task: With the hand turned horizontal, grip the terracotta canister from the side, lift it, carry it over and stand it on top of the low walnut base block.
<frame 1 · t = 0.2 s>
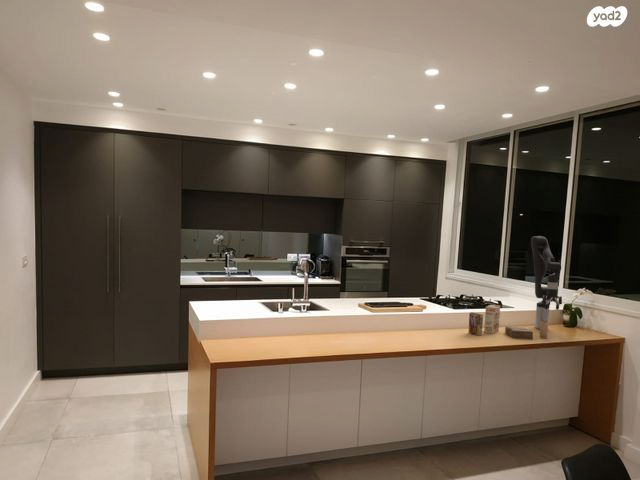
hand: (551, 309, 343), 18 cm above the worktop, tool pointing down, fingers open, 8 cm apart
terracotta canister: (543, 337, 326), on the worktop
coffeecake box: (491, 332, 336), on the worktop
walnut base: (518, 336, 326), on the worktop
candy box: (475, 334, 326), on the worktop
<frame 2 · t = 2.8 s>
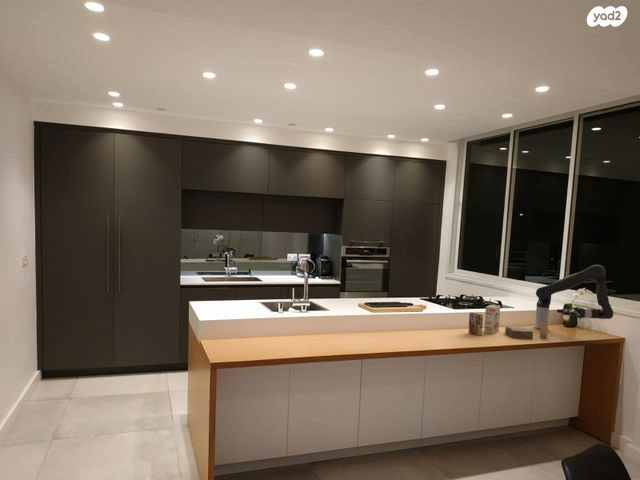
hand: (560, 312, 325), 19 cm above the worktop, tool horizontal, fingers open, 8 cm apart
nothing on the worktop moved.
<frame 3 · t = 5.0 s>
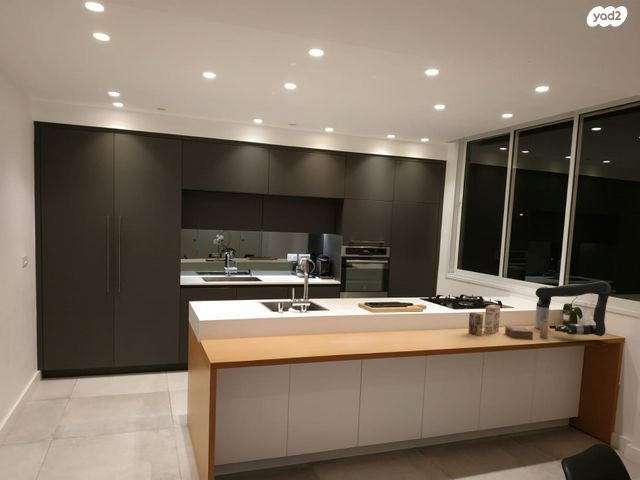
hand: (552, 328, 326), 7 cm above the worktop, tool horizontal, fingers open, 8 cm apart
nothing on the worktop moved.
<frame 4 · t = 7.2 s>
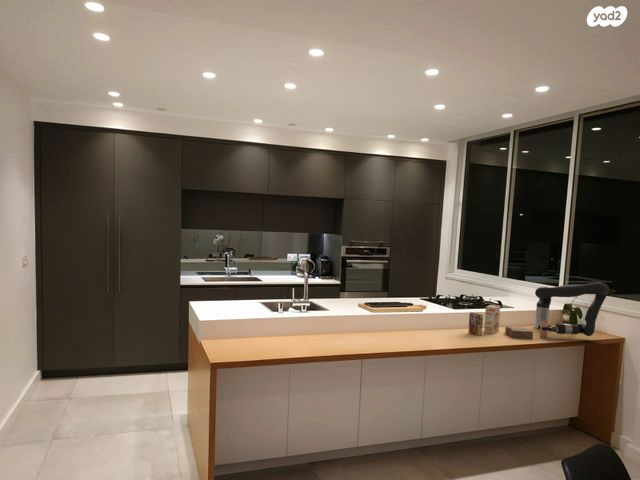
hand: (540, 327, 326), 7 cm above the worktop, tool horizontal, fingers closed on terracotta canister, 4 cm apart
terracotta canister: (543, 337, 326), on the worktop, touching gripper
everything else where it was.
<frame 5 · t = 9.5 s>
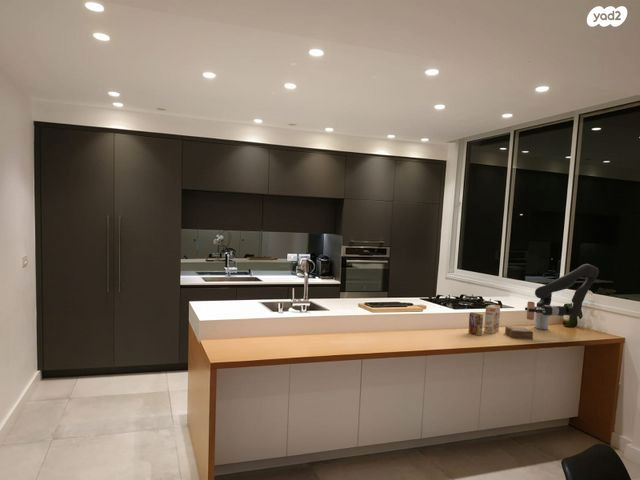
hand: (527, 309, 325), 20 cm above the worktop, tool horizontal, fingers closed on terracotta canister, 4 cm apart
terracotta canister: (530, 319, 325), point 13 cm above the worktop, touching gripper
everything else where it was.
when the fingers open (14 cm above the worktop, at t = 11.8 s): terracotta canister drops 2 cm, resting on walnut base.
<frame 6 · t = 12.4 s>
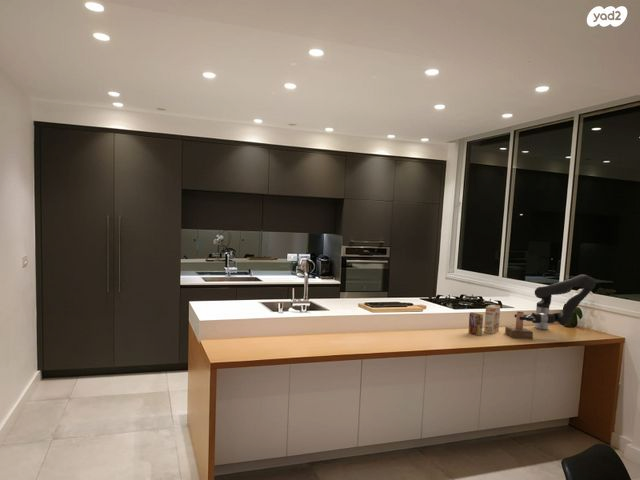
hand: (517, 317, 326), 14 cm above the worktop, tool horizontal, fingers open, 8 cm apart
terracotta canister: (519, 328, 326), point 5 cm above the worktop, touching walnut base
everything else where it was.
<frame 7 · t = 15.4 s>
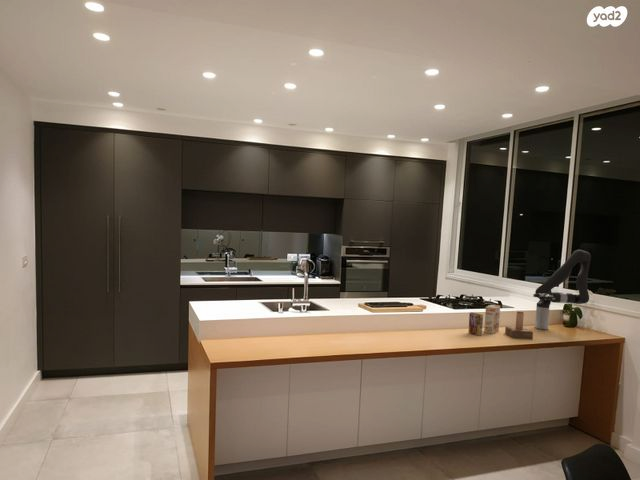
hand: (536, 296, 325), 30 cm above the worktop, tool horizontal, fingers open, 8 cm apart
nothing on the worktop moved.
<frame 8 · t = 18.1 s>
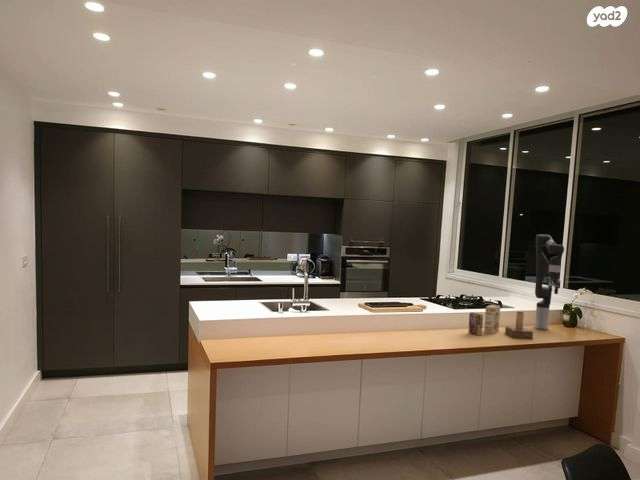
hand: (553, 293, 331), 32 cm above the worktop, tool pointing down, fingers open, 8 cm apart
nothing on the worktop moved.
at the end: terracotta canister inside the target area on the walnut base (0.1 cm from its centre), point 5.3 cm above the walnut base's base; terracotta canister tilted 0°; the gripper is holding nothing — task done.
